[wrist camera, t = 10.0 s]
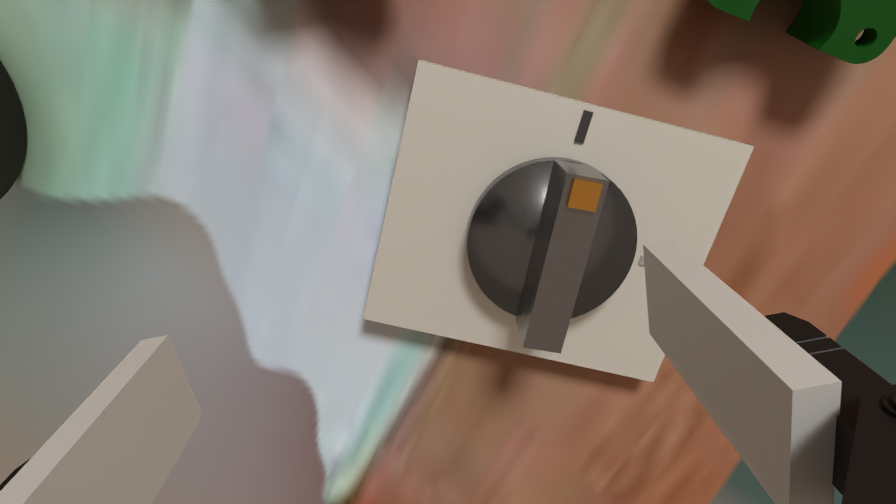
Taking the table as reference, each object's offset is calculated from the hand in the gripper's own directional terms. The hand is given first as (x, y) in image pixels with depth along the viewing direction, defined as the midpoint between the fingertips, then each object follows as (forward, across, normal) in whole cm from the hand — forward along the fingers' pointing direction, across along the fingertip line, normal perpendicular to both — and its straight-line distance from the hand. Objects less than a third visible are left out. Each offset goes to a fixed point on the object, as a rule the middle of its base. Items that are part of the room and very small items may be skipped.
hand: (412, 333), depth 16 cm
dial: (+22, -7, +7) cm, 24 cm away
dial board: (+24, -7, +7) cm, 26 cm away
